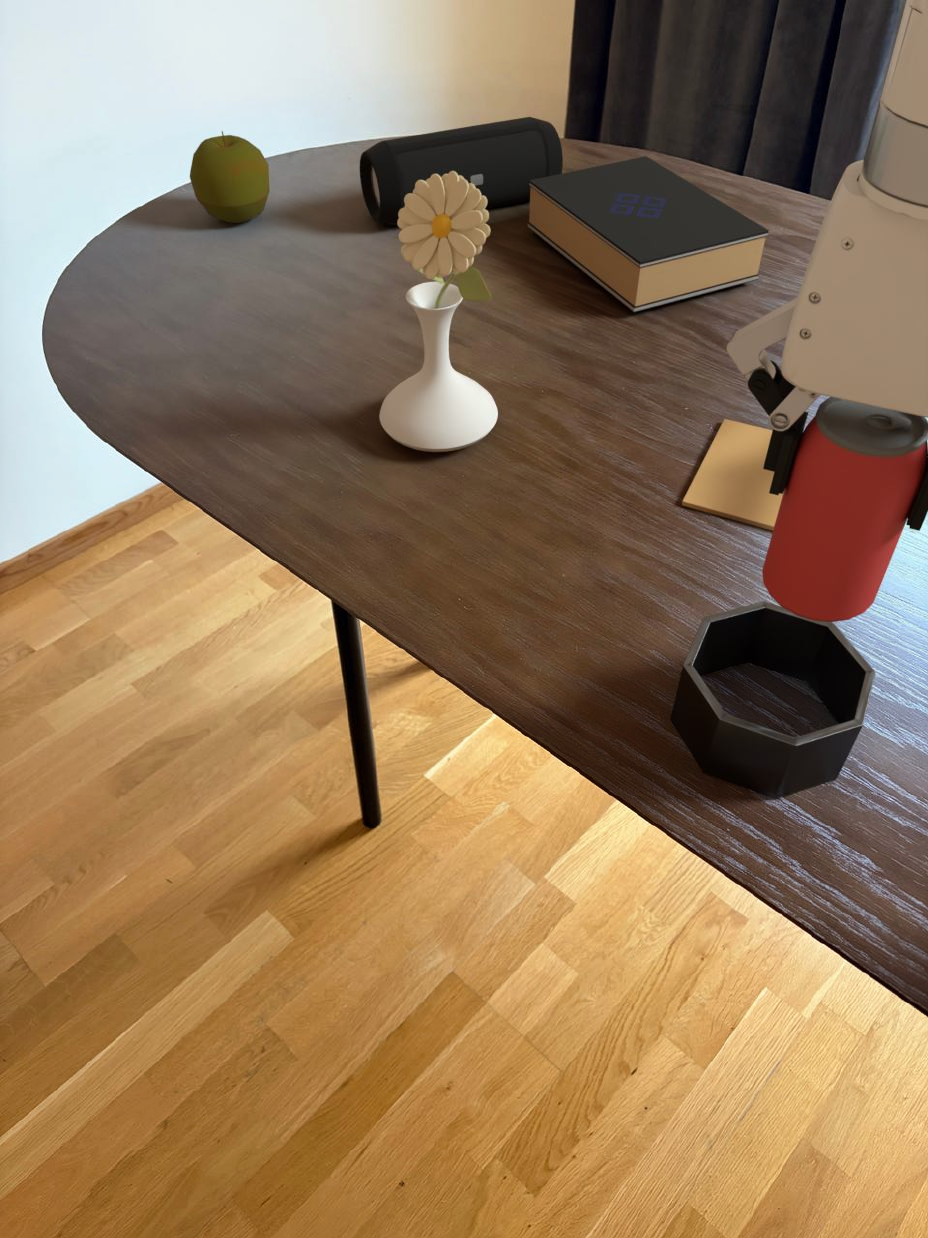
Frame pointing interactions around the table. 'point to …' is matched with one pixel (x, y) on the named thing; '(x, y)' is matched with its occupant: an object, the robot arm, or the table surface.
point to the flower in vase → (441, 317)
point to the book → (645, 232)
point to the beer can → (844, 508)
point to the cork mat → (736, 477)
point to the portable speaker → (461, 163)
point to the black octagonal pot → (787, 650)
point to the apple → (230, 178)
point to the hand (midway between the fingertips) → (847, 495)
